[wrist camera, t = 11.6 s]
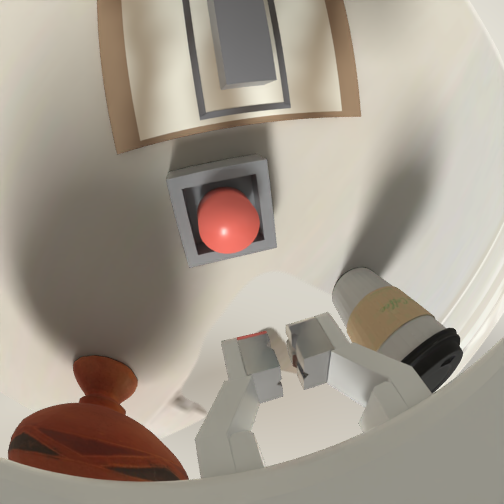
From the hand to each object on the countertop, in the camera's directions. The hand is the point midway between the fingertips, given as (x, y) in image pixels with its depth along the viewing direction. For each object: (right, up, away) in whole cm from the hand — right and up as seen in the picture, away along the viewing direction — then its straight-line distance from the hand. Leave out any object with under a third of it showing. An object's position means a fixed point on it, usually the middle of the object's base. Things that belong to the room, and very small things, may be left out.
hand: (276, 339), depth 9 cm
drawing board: (-3, +20, +6) cm, 21 cm away
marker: (-2, +20, +5) cm, 21 cm away
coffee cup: (+11, -1, +21) cm, 24 cm away
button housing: (-3, +7, +13) cm, 15 cm away
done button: (-3, +6, +11) cm, 13 cm away
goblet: (-19, -13, +20) cm, 30 cm away
